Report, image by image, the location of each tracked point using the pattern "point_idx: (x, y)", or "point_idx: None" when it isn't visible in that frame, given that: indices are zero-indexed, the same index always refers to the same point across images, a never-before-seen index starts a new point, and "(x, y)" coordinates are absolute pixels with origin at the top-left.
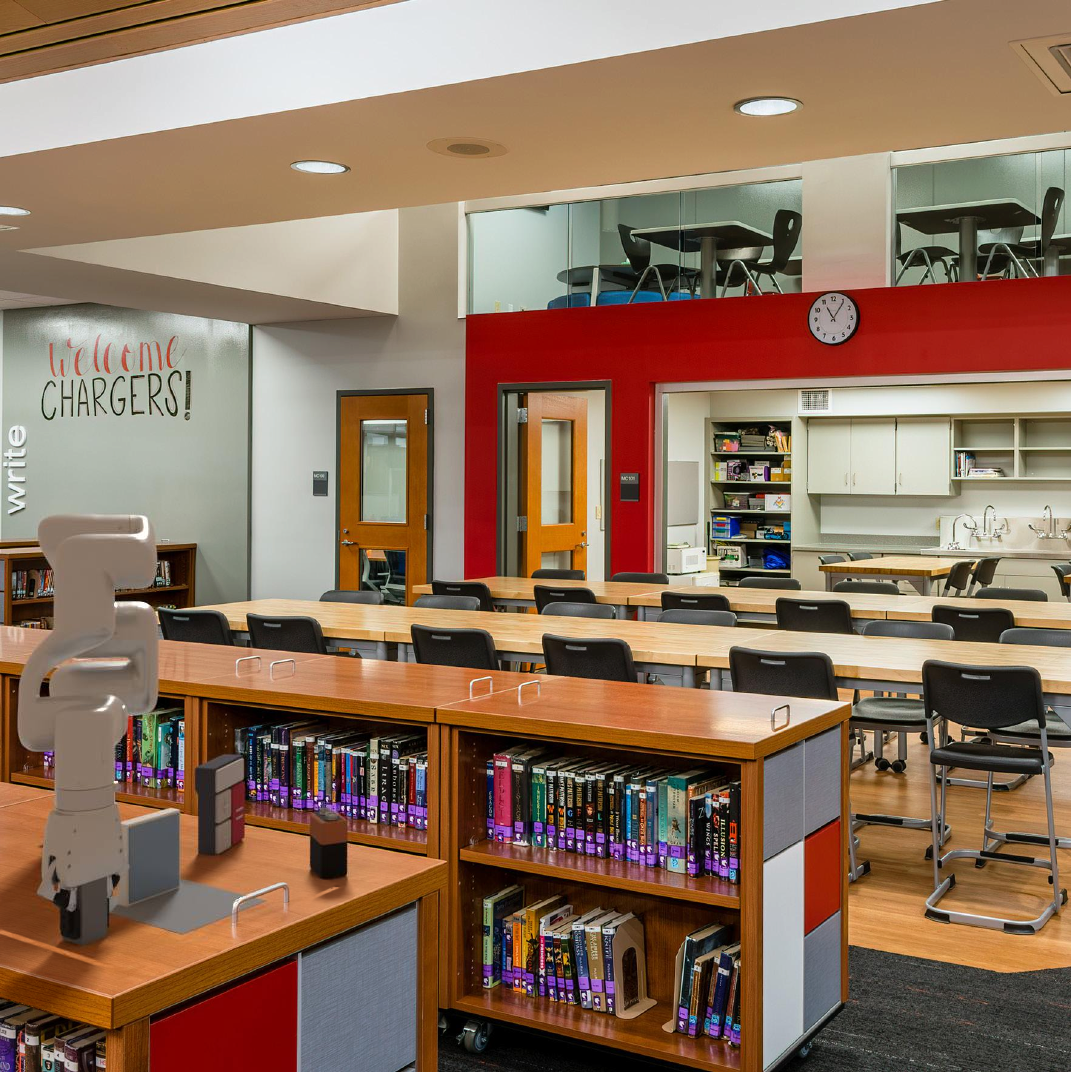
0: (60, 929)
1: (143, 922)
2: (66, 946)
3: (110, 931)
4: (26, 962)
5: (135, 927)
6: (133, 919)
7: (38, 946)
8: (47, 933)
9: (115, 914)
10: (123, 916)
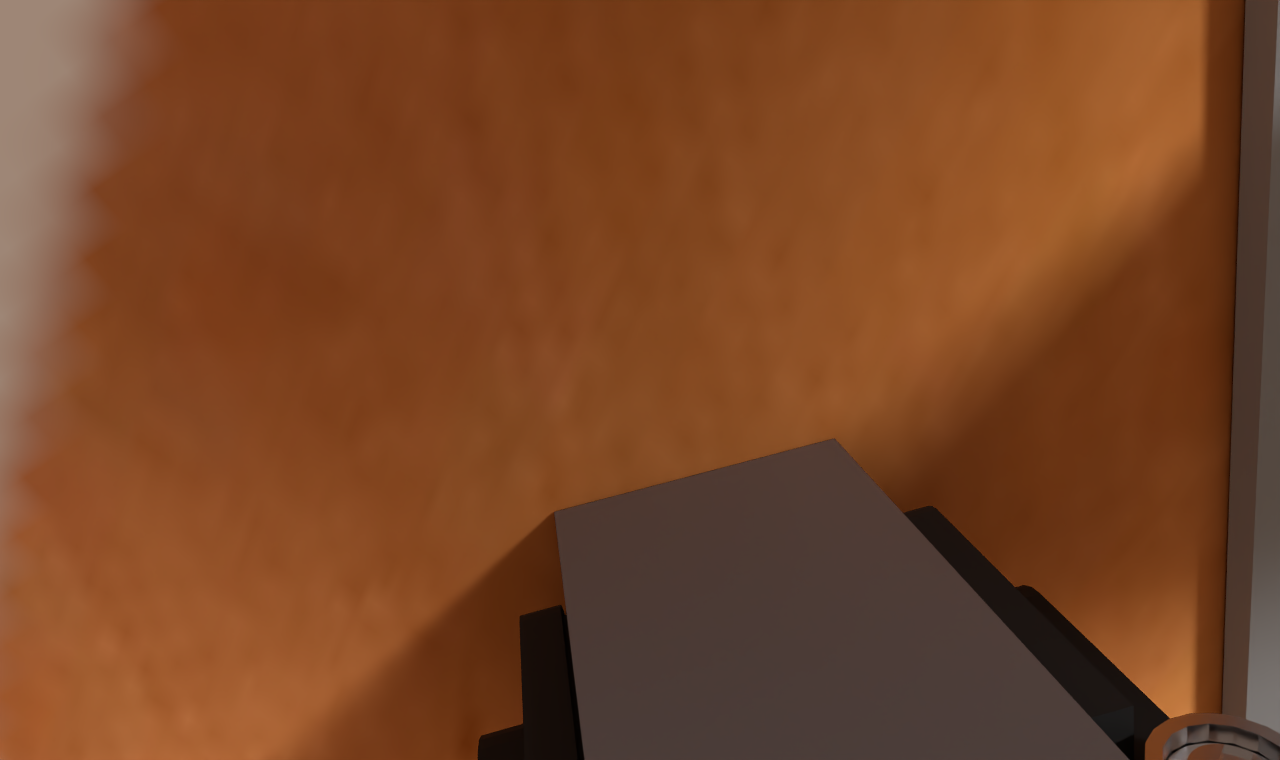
0: (478, 748)
1: (1257, 582)
2: (547, 596)
3: (999, 503)
4: (110, 732)
5: (1178, 549)
6: (1265, 462)
7: (334, 435)
8: (553, 130)
9: (1273, 211)
10: (1272, 327)
